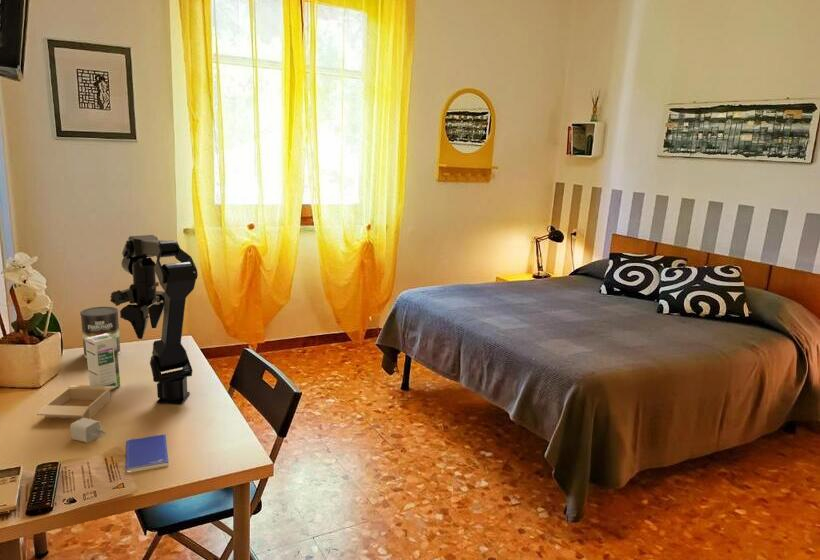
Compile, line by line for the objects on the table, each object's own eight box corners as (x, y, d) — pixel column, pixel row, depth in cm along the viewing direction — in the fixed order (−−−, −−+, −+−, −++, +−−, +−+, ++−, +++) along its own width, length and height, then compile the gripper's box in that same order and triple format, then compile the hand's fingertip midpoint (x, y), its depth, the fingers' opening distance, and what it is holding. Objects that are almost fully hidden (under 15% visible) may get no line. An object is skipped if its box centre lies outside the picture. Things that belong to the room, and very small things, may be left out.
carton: (115, 394, 151) (115, 383, 150) (83, 424, 135) (82, 412, 134) (75, 393, 150) (74, 382, 149) (37, 423, 134) (36, 410, 133)
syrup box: (99, 393, 151) (95, 342, 148) (88, 387, 154) (84, 336, 151) (120, 386, 155) (117, 337, 152) (110, 380, 159) (106, 331, 155)
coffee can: (121, 357, 176) (118, 314, 172) (83, 361, 171) (79, 317, 168) (120, 346, 184) (117, 305, 181) (84, 350, 180) (80, 307, 176)
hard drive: (168, 461, 120) (165, 433, 131) (125, 468, 116) (126, 439, 127) (168, 467, 120) (165, 440, 131) (126, 475, 117) (126, 446, 127)
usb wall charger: (86, 432, 131) (85, 416, 131) (109, 438, 129) (108, 422, 128) (71, 440, 128) (70, 424, 127) (95, 446, 126) (93, 430, 125)
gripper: (130, 271, 165) (133, 321, 169) (97, 287, 147) (102, 343, 151) (168, 273, 166) (170, 323, 169) (141, 289, 147) (144, 345, 151)
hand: (147, 333), depth 160 cm, fingers open, 9 cm apart
